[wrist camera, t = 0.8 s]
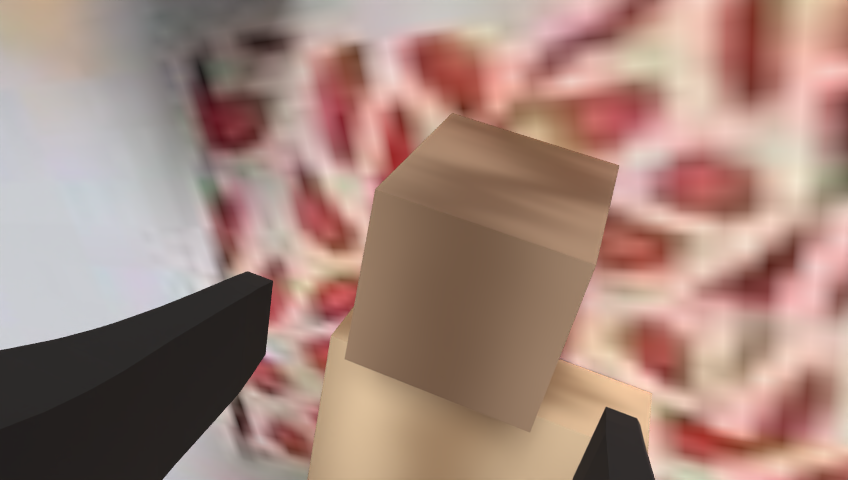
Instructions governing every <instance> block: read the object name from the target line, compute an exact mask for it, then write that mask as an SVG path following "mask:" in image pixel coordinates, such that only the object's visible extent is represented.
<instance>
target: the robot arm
mask: <svg viewBox="0 0 848 480" xmlns="http://www.w3.org/2000/svg"><path fill="white" fill-rule="evenodd" d="M272 286H273V281H272V280H269V279H267V278H264V277H261V276H259V275H256V274H253V273H251V272H248V271H247V272H245V273H242V274H239V275H237V276H234V277H232V278H229V279H227V280H224V281H222V282H220V283H217V284H215V285H213V286H210V287H208V288H205V289H203V290H201V291H198V292H196V293H193V294H191V295H188V296H186V297H183V298H181V299H179V300H176V301H174V302H171V303H169V304H166V305H164V306H161V307H158V308H155V309H153V310H150V311H147V312H144V313H141V314H138V315H136V316H133V317H130V318H127V319H124V320H121V321H119V322H116V323H113V324H109V325H106V326H103V327H100V328H96V329H93V330H89V331H86V332H82V333H78V334H74V335H70V336H67V337H63V338H59V339H54V340H50V341H45V342H40V343H35V344H30V345H25V346H20V347H15V348H10V349H4V350H0V480H163V478H164V477H165V476H166V475H167V474H168V472H169V471H170V470H171V469H172V468H173V466H174V465H175V464H176V463H177V462H178V461H179V460H180V459H181V458H182V456H183V455H184V454H185V453H186V452H187V451H188V450H189V449H190V448H191V446H192V445H193V444H194V443H195V442H196V441H197V440H198V439H199V438H200V436H201V435H202V434H203V433H204V432H205V431H206V430H207V429H208V428H209V426H210V425H211V424H212V423H213V422H214V421H215V420H216V419H217V417H218V416H219V415H220V414H221V413H222V412H223V411H224V410H225V408H226V407H227V406H228V405H229V404H230V403H231V402H232V401H233V399H234V398H235V397H236V396H237V395H238V394H239V392H240V391H241V390H242V388H243V387H244V385H245V384H246V383H247V381H248V380H249V378H250V377H251V375H252V374H253V372H254V371H255V369H256V368H257V366H258V365H259V363H260V362H261V360H262V359H263V357H264V356H265V354H266V344H267V334H268V325H269V315H270V305H271V295H272ZM573 480H655V478H654V474H653V471H652V468H651V464H650V461H649V457H648V454H647V450H646V446H645V442H644V438H643V434H642V430H641V425H640V423H639V421H638V419H637V418H635V417H633V416H630V415H627V414H625V413H622V412H619V411H617V410H614V409H611V408H609V407H605V409H604V412H603V414H602V416H601V418H600V420H599V422H598V425H597V427H596V429H595V431H594V433H593V435H592V438H591V440H590V442H589V444H588V446H587V448H586V451H585V453H584V455H583V457H582V459H581V461H580V463H579V466H578V468H577V470H576V472H575V474H574V476H573Z"/></svg>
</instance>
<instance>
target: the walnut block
mask: <svg viewBox="0 0 848 480" xmlns="http://www.w3.org/2000/svg"><path fill="white" fill-rule="evenodd" d="M618 169H619V165H616V164H613V163H610V162H607V161H603V160H600V159H597V158H594V157H591V156H588V155H584V154H581V153H578V152H575V151H572V150H568V149H565V148H562V147H559V146H556V145H552V144H549V143H546V142H543V141H540V140H536V139H533V138H530V137H527V136H524V135H521V134H517V133H514V132H511V131H508V130H505V129H501V128H498V127H495V126H492V125H489V124H485V123H482V122H479V121H476V120H473V119H469V118H466V117H463V116H460V115H457V114H454V113H452V114H451V115H450V116H449V117H448V118H447V119H446V120H445V121H444V122H443V123H442V124H441V125H440V126H439V127H438V128H437V129H436V130H435V131H434V132H433V133H432V134H431V135H430V136H429V137H428V138H427V139H426V140H425V141H424V142H423V143H422V144H421V145H420V146H419V147H418V148H416V149H415V150H414V151H413V152H412V153H411V154H410V155H409V156H408V157H407V158H406V159H405V160H404V161H403V162H402V163H401V164H400V165H399V166H398V167H397V168H396V169H395V170H394V171H393V172H392V173H391V174H390V175H389V176H388V177H387V178H386V179H385V180H384V181H383V182H382V183H381V184H380V185H379V186H378V187H377V188H376V189H375V194H374V200H373V205H372V211H371V216H370V222H369V227H368V233H367V238H366V244H365V249H364V255H363V260H362V266H361V271H360V277H359V282H358V288H357V293H356V298H355V304H354V309H353V315H352V320H351V326H350V331H349V337H348V342H347V348H346V353H345V360H348V361H350V362H353V363H355V364H358V365H360V366H363V367H365V368H368V369H371V370H373V371H376V372H378V373H381V374H383V375H386V376H388V377H391V378H393V379H396V380H398V381H401V382H403V383H406V384H408V385H411V386H413V387H416V388H419V389H421V390H424V391H426V392H429V393H431V394H434V395H436V396H439V397H441V398H444V399H446V400H449V401H451V402H454V403H456V404H459V405H461V406H464V407H467V408H469V409H472V410H474V411H477V412H479V413H482V414H484V415H487V416H489V417H492V418H494V419H497V420H499V421H502V422H504V423H507V424H509V425H512V426H515V427H517V428H520V429H522V430H525V431H527V432H530V431H531V429H532V426H533V424H534V421H535V419H536V416H537V414H538V411H539V408H540V406H541V403H542V401H543V398H544V396H545V393H546V391H547V388H548V386H549V383H550V381H551V378H552V375H553V373H554V370H555V368H556V365H557V363H558V360H559V358H560V355H561V353H562V350H563V348H564V345H565V342H566V340H567V337H568V335H569V332H570V330H571V327H572V325H573V322H574V320H575V317H576V315H577V312H578V309H579V307H580V304H581V302H582V299H583V297H584V294H585V292H586V289H587V287H588V284H589V282H590V279H591V276H592V274H593V271H594V269H595V266H596V263H597V259H598V254H599V250H600V246H601V242H602V237H603V233H604V229H605V225H606V220H607V216H608V212H609V207H610V203H611V199H612V195H613V190H614V186H615V182H616V177H617V173H618Z"/></svg>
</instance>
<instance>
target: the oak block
mask: <svg viewBox="0 0 848 480" xmlns="http://www.w3.org/2000/svg"><path fill="white" fill-rule="evenodd" d="M353 309H354V307H353V308H352V310H351V311H350V312H349V313H348V315H347V316H346V317H345V319H344V320H343V321H342V322H341V324H340V325H339V326H338V328H337V329H336V330H335V331H334V333H333V334H332V335H331V339H330V345H329V351H328V357H327V363H326V369H325V375H324V381H323V387H322V394H321V400H320V406H319V412H318V418H317V424H316V430H315V436H314V442H313V448H312V454H311V460H310V467H309V473H308V479H307V480H573V476H574V474H575V472H576V470H577V468H578V466H579V463H580V461H581V459H582V457H583V455H584V453H585V451H586V448H587V446H588V444H589V442H590V440H591V438H592V435H593V433H594V431H595V429H596V427H597V425H598V422H599V420H600V418H601V416H602V414H603V412H604V409H605V407H609V408H611V409H614V410H617V411H619V412H622V413H625V414H627V415H630V416H633V417H635V418H637V419H638V421H639V423H640V425H641V430H642V434H643V438H644V442H645V446H646V450H647V454H648V443H649V427H650V412H651V396H652V393H649V392H646V391H644V390H641V389H638V388H636V387H633V386H630V385H628V384H625V383H622V382H620V381H617V380H614V379H611V378H609V377H606V376H603V375H601V374H598V373H595V372H593V371H590V370H587V369H585V368H582V367H579V366H577V365H574V364H571V363H568V362H566V361H563V360H560V359H559V360H558V363H557V365H556V368H555V370H554V373H553V375H552V378H551V381H550V383H549V386H548V388H547V391H546V393H545V396H544V398H543V401H542V403H541V406H540V408H539V411H538V414H537V416H536V419H535V421H534V424H533V426H532V429H531V431H530V432H527V431H525V430H522V429H520V428H517V427H515V426H512V425H509V424H507V423H504V422H502V421H499V420H497V419H494V418H492V417H489V416H487V415H484V414H482V413H479V412H477V411H474V410H472V409H469V408H467V407H464V406H461V405H459V404H456V403H454V402H451V401H449V400H446V399H444V398H441V397H439V396H436V395H434V394H431V393H429V392H426V391H424V390H421V389H419V388H416V387H413V386H411V385H408V384H406V383H403V382H401V381H398V380H396V379H393V378H391V377H388V376H386V375H383V374H381V373H378V372H376V371H373V370H371V369H368V368H365V367H363V366H360V365H358V364H355V363H353V362H350V361H348V360H345V353H346V348H347V342H348V337H349V331H350V326H351V320H352V315H353Z"/></svg>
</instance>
